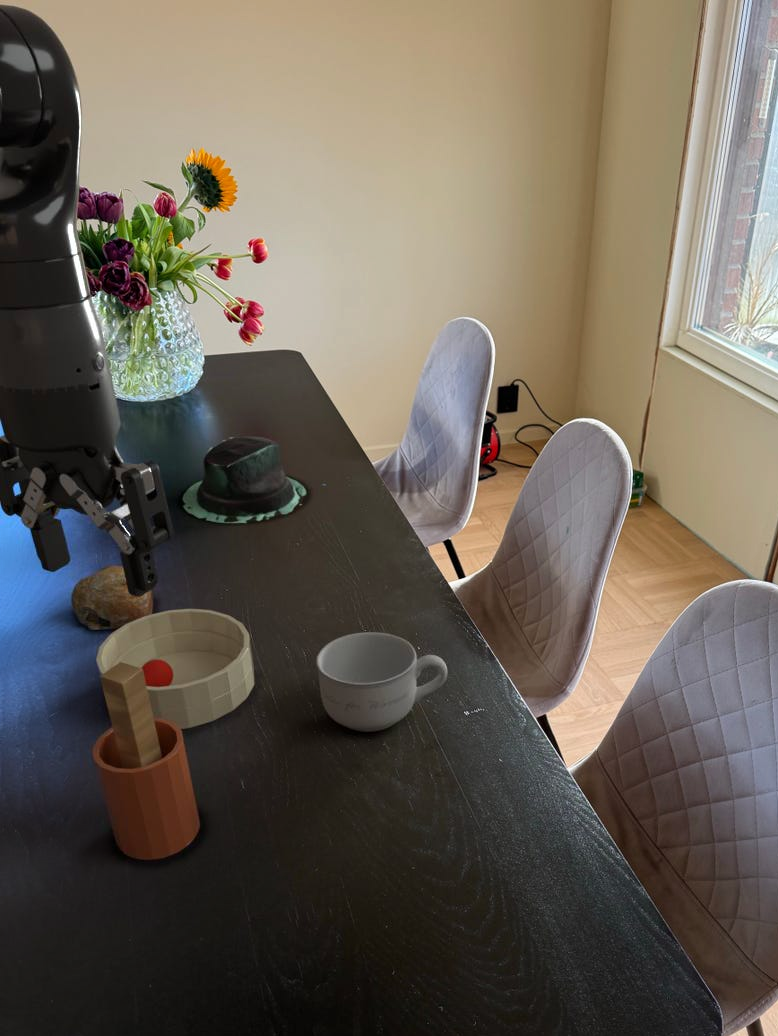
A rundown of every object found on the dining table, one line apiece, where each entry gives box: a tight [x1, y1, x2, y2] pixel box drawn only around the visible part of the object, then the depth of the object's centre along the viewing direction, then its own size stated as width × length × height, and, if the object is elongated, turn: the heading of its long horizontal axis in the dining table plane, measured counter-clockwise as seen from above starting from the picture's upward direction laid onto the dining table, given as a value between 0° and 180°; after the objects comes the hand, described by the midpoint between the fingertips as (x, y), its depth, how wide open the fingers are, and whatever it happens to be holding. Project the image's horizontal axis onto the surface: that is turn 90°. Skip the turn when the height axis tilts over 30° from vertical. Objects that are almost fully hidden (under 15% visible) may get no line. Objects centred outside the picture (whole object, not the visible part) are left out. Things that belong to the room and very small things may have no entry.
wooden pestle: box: [99, 662, 162, 769], centre depth 78 cm, size 5×5×18 cm
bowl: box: [95, 608, 255, 730], centre depth 100 cm, size 16×16×6 cm
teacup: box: [315, 631, 448, 733], centre depth 97 cm, size 14×11×8 cm
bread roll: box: [70, 565, 154, 631], centre depth 114 cm, size 10×10×8 cm
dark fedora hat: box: [182, 436, 307, 524], centre depth 146 cm, size 15×19×20 cm
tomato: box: [142, 659, 173, 687], centre depth 100 cm, size 4×4×4 cm
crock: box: [92, 718, 201, 861], centre depth 80 cm, size 7×7×11 cm
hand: (99, 579), depth 68 cm, fingers open, 8 cm apart
